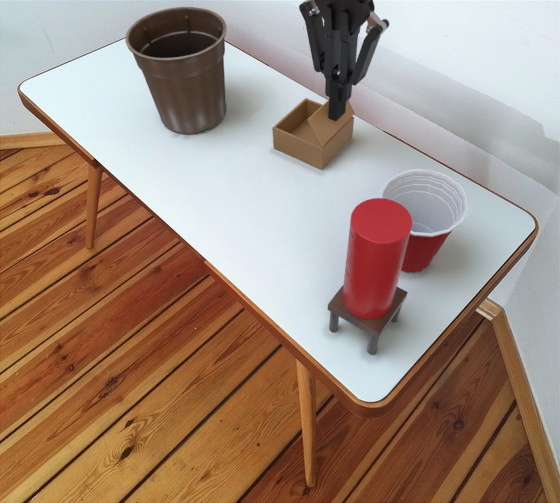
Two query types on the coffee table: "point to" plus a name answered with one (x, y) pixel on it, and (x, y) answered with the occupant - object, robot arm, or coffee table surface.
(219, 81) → the plant pot
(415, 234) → the plastic cup
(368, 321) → the stool
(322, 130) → the flap
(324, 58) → the robot arm
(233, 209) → the coffee table surface
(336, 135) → the carton
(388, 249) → the can
